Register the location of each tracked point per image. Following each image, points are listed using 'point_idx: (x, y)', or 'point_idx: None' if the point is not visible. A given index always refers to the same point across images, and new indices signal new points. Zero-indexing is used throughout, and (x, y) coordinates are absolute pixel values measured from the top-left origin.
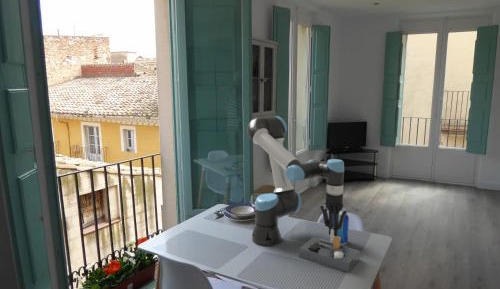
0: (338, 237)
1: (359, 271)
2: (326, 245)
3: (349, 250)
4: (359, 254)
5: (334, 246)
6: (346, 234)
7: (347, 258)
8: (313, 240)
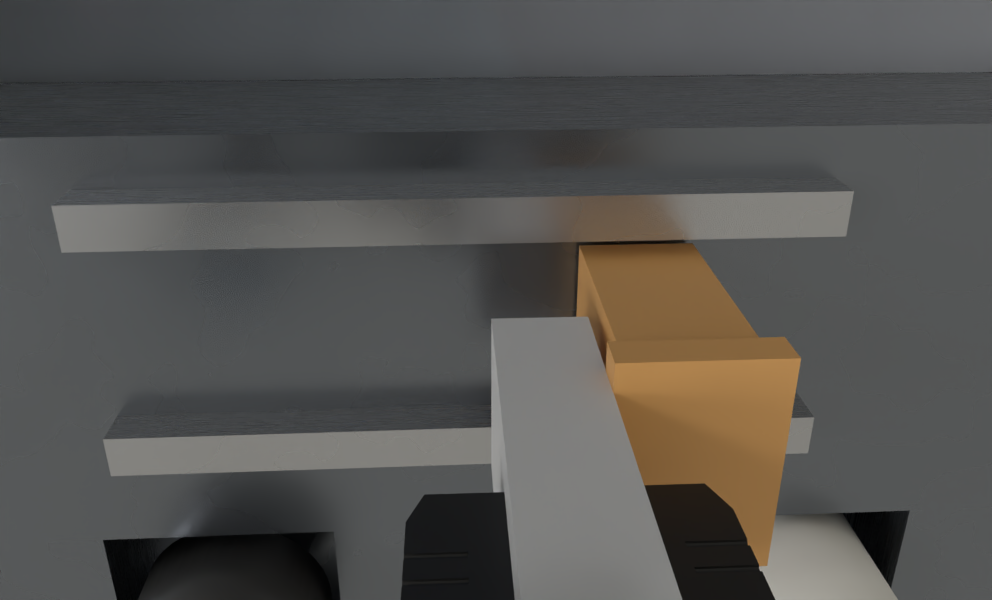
0: (722, 400)
1: None
2: (404, 444)
3: (946, 261)
4: None
5: None
6: None
7: (963, 588)
8: None
